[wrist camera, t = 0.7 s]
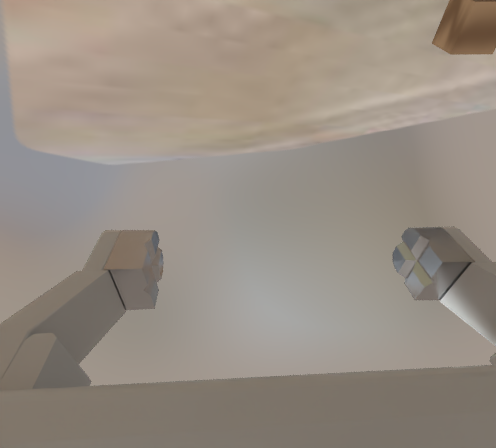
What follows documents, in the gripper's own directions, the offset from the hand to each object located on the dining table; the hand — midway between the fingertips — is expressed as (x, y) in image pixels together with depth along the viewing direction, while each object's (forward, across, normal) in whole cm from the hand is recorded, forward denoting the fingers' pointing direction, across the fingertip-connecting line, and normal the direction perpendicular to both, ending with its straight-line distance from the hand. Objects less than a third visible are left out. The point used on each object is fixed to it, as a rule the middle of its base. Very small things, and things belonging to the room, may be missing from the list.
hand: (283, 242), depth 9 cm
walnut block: (+35, -28, -5) cm, 45 cm away
